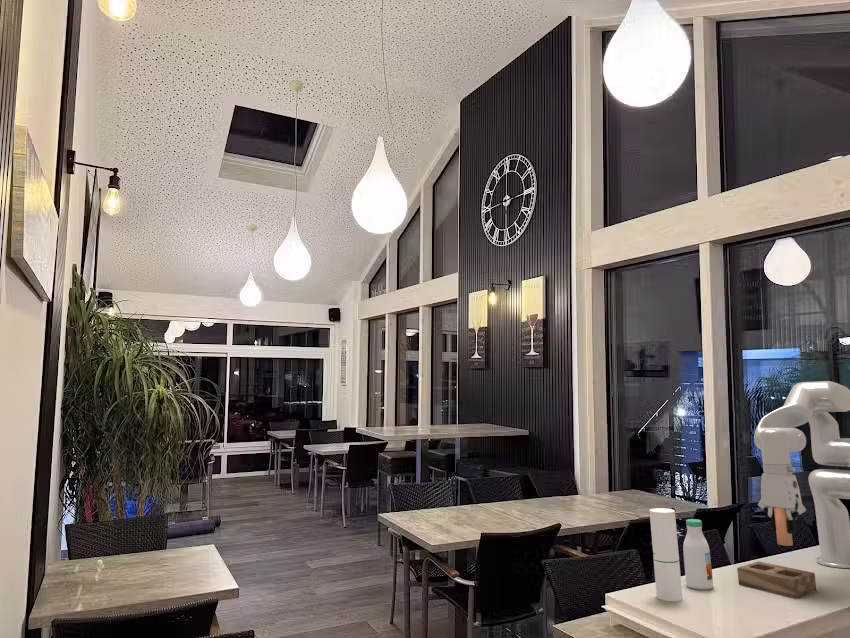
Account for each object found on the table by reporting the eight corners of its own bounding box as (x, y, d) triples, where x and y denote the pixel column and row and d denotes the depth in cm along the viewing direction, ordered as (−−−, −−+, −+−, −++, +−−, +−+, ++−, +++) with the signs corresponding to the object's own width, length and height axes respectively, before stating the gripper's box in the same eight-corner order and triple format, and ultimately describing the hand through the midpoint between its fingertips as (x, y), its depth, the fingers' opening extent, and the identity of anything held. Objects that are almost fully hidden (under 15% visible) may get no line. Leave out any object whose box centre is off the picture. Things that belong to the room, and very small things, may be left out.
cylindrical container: (678, 593, 181) (670, 508, 185) (685, 601, 174) (678, 512, 178) (653, 593, 182) (646, 508, 185) (660, 601, 175) (653, 512, 178)
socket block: (760, 577, 194) (758, 561, 195) (816, 590, 180) (814, 572, 180) (738, 584, 188) (737, 567, 189) (795, 598, 173) (793, 580, 174)
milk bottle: (702, 591, 182) (695, 523, 185) (680, 585, 189) (675, 519, 192) (718, 587, 186) (712, 520, 188) (697, 581, 192) (691, 516, 195)
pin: (782, 542, 185) (777, 501, 186) (795, 544, 181) (791, 503, 183) (774, 543, 182) (770, 503, 184) (788, 546, 179) (783, 504, 181)
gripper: (812, 471, 180) (819, 534, 177) (757, 467, 194) (763, 526, 191) (799, 473, 176) (806, 538, 173) (744, 468, 190) (750, 529, 187)
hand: (783, 531), depth 182 cm, fingers closed on pin, 4 cm apart
